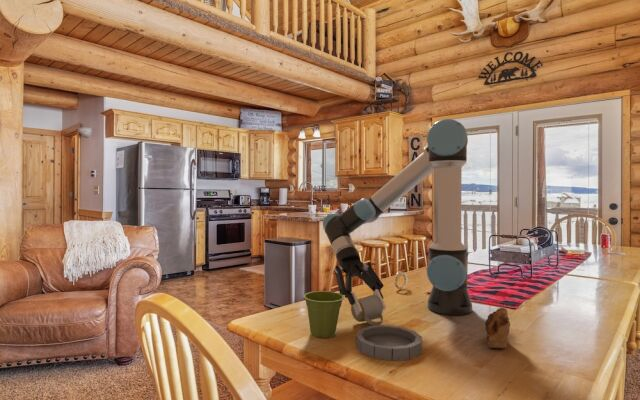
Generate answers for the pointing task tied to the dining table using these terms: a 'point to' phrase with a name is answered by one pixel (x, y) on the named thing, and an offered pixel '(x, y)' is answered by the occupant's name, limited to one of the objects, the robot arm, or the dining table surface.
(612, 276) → the dining table surface
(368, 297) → the ceramic mug
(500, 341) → the decorative rock
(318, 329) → the plant pot
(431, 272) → the robot arm
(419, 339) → the round tray
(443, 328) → the dining table surface
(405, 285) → the ring
